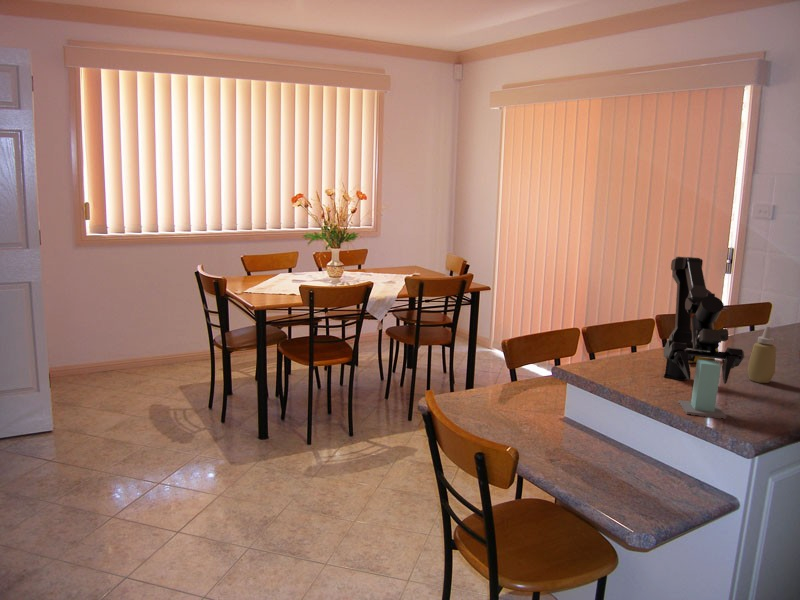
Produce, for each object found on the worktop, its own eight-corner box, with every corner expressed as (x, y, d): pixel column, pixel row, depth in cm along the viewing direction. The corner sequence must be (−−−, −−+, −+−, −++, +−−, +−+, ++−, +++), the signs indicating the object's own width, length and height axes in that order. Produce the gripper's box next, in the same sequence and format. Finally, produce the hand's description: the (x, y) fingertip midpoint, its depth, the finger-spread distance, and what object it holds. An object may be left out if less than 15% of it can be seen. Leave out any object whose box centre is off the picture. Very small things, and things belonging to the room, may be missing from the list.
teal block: (690, 403, 186) (697, 358, 184) (709, 406, 185) (716, 360, 183) (694, 409, 182) (701, 363, 179) (714, 412, 181) (721, 365, 178)
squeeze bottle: (770, 379, 220) (779, 326, 217) (775, 386, 212) (784, 331, 209) (743, 375, 223) (752, 323, 219) (747, 382, 215) (756, 327, 212)
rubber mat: (678, 402, 189) (678, 400, 189) (715, 407, 188) (716, 404, 187) (686, 414, 180) (686, 411, 179) (726, 419, 178) (726, 416, 178)
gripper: (675, 313, 184) (678, 362, 176) (747, 320, 181) (754, 370, 172) (665, 335, 194) (668, 382, 185) (734, 341, 190) (740, 390, 182)
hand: (707, 381), depth 181 cm, fingers open, 9 cm apart
